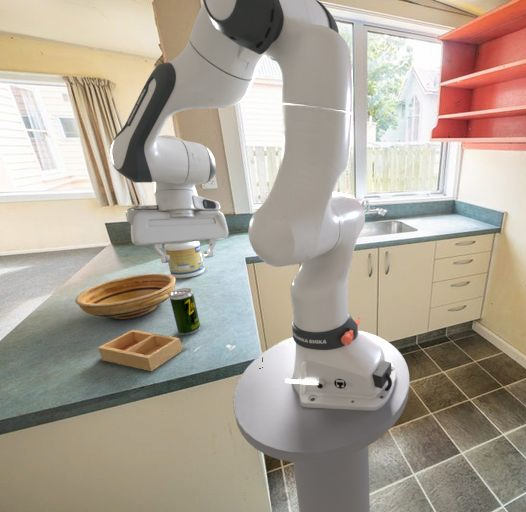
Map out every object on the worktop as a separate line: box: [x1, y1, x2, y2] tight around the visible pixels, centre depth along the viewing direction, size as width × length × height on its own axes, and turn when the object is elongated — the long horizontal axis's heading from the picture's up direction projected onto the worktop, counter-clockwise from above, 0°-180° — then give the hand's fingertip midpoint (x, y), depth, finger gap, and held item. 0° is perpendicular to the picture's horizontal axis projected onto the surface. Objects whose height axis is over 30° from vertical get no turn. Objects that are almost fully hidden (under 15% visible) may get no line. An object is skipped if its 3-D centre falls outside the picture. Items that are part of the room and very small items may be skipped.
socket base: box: [97, 329, 183, 372], centre depth 73 cm, size 15×8×4 cm, turn 75°
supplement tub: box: [163, 241, 206, 279], centre depth 123 cm, size 12×12×17 cm
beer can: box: [169, 287, 201, 336], centre depth 82 cm, size 5×5×12 cm
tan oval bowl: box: [74, 273, 177, 320], centre depth 94 cm, size 30×24×8 cm
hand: (188, 260), depth 74 cm, fingers open, 8 cm apart
